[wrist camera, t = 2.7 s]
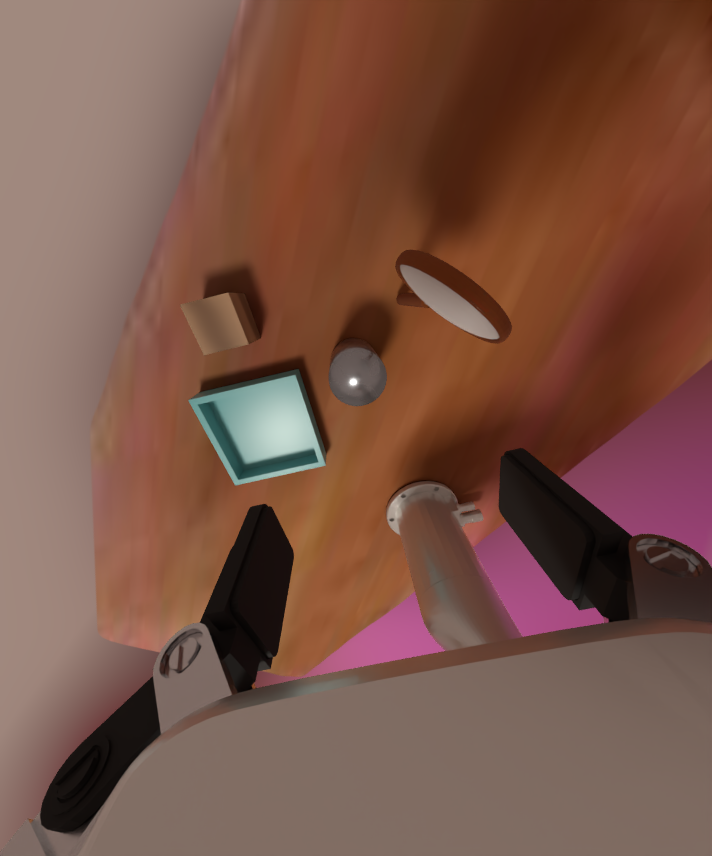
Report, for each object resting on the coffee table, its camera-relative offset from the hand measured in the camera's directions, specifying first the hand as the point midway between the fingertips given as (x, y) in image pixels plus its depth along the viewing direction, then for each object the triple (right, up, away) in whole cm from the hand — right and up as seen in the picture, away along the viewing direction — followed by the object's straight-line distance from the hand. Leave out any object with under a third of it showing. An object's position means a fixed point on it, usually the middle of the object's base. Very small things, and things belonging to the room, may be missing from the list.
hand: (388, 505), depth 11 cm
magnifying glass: (+4, +19, +21) cm, 28 cm away
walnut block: (-16, +16, +21) cm, 30 cm away
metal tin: (-2, +12, +23) cm, 26 cm away
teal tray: (-14, +3, +27) cm, 30 cm away
